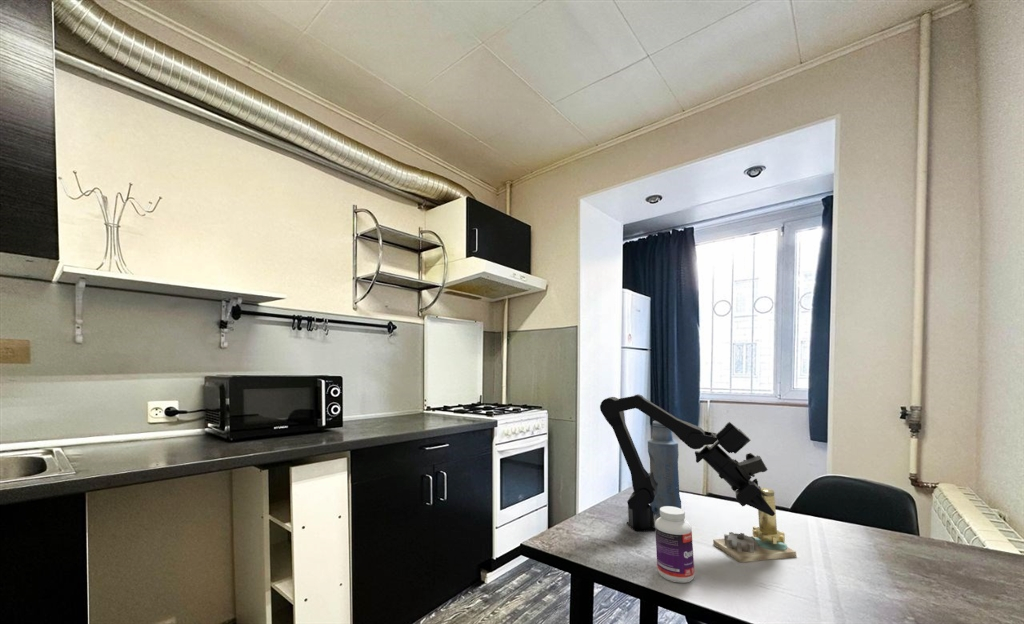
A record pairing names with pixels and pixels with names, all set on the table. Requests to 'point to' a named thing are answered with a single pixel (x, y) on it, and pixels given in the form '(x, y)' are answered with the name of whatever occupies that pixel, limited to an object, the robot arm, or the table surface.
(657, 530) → the pill bottle
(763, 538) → the gear
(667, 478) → the bottle
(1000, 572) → the table surface
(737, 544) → the gear board
